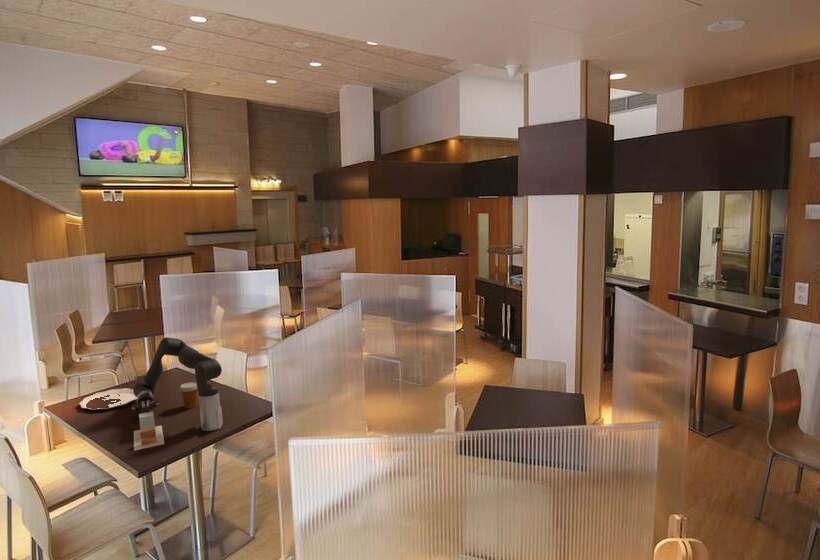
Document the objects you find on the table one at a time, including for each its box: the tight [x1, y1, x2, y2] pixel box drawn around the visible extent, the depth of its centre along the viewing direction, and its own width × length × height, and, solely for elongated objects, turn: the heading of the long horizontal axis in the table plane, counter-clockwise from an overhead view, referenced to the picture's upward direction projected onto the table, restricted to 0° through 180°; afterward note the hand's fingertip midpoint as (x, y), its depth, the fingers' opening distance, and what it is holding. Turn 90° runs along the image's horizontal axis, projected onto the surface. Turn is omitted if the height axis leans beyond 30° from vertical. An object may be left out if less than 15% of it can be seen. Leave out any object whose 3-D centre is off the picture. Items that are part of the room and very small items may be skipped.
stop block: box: [140, 428, 156, 445], centre depth 231 cm, size 2×6×6 cm, turn 118°
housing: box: [133, 425, 165, 451], centre depth 237 cm, size 22×12×2 cm, turn 28°
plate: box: [78, 387, 137, 411], centre depth 285 cm, size 29×29×2 cm
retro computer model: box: [138, 411, 156, 431], centre depth 241 cm, size 6×6×9 cm
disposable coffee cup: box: [179, 381, 199, 409], centre depth 275 cm, size 10×10×12 cm
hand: (146, 411), depth 252 cm, fingers closed
